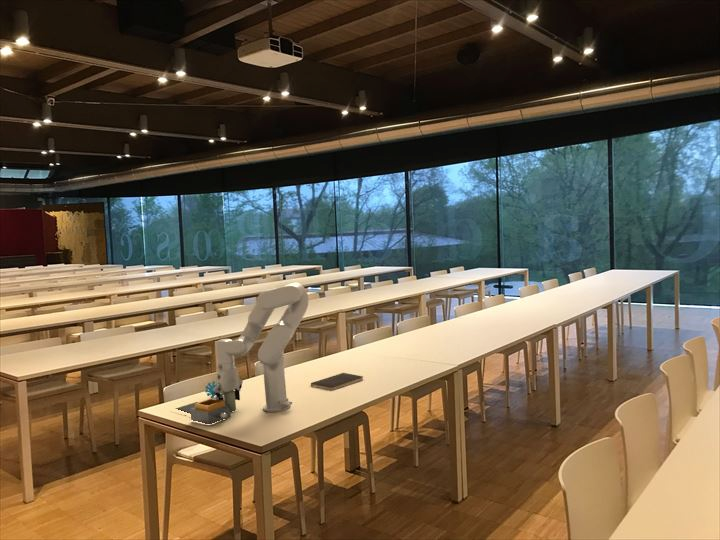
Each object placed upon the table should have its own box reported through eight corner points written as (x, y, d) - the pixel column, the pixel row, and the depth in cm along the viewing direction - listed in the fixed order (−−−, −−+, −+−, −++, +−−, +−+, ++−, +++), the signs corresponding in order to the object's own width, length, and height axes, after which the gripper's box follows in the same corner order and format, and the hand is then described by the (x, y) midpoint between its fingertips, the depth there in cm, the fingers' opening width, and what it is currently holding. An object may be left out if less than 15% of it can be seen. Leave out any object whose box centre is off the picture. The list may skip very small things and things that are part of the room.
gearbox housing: (236, 418, 254) (235, 401, 253) (215, 427, 244) (213, 409, 244) (213, 414, 263) (211, 396, 263) (191, 422, 254) (189, 404, 253)
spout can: (238, 409, 267) (236, 386, 266) (230, 413, 263) (228, 389, 262) (231, 408, 270) (229, 385, 269) (222, 411, 266) (220, 388, 265)
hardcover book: (363, 380, 304) (363, 376, 304) (331, 391, 288) (331, 387, 288) (343, 376, 315) (342, 372, 315) (310, 387, 299) (310, 382, 299)
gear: (207, 398, 284) (204, 381, 290) (204, 404, 287) (201, 387, 294) (229, 396, 289) (225, 379, 295) (226, 403, 293) (222, 386, 299)
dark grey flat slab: (220, 406, 269) (191, 416, 258) (220, 410, 269) (191, 420, 259) (198, 400, 283) (169, 408, 272) (198, 403, 283) (169, 412, 273)
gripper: (217, 371, 256) (220, 409, 257) (246, 362, 270) (249, 398, 271) (206, 369, 260) (209, 406, 261) (235, 361, 274) (238, 396, 275)
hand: (229, 402), depth 266 cm, fingers open, 9 cm apart
